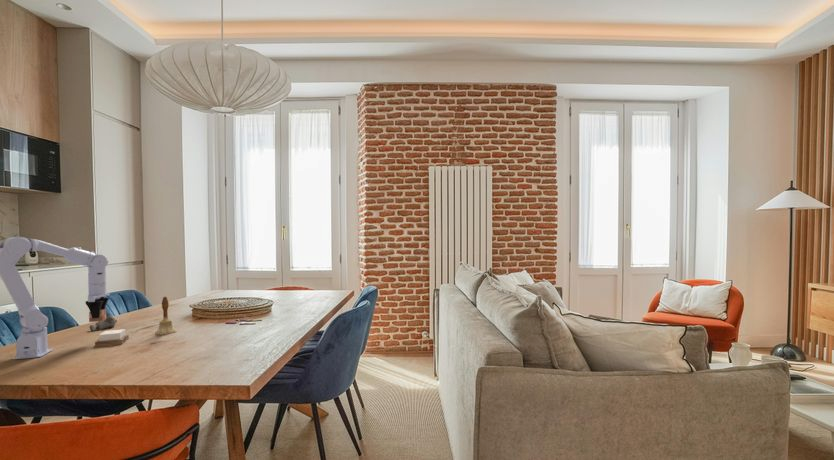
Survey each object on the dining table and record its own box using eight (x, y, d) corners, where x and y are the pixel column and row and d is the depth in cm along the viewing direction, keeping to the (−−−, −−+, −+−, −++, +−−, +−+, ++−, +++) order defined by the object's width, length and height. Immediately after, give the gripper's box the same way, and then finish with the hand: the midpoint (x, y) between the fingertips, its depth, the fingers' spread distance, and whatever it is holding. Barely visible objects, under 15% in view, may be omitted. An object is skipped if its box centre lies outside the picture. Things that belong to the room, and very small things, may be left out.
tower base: (122, 346, 168) (122, 339, 168) (95, 348, 164) (94, 342, 164) (128, 340, 176) (128, 334, 176) (102, 342, 173) (102, 336, 173)
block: (102, 321, 170) (102, 311, 170) (89, 322, 168) (89, 312, 168) (106, 318, 174) (106, 309, 174) (93, 319, 172) (93, 310, 172)
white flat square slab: (119, 339, 168) (119, 333, 168) (99, 341, 166) (98, 334, 166) (125, 335, 175) (125, 329, 175) (105, 336, 173) (105, 330, 173)
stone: (90, 334, 189) (105, 321, 190) (84, 324, 190) (99, 312, 192) (107, 334, 199) (121, 322, 200) (101, 325, 200) (115, 314, 201)
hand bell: (174, 333, 184) (174, 297, 184) (152, 335, 181) (152, 298, 181) (177, 329, 192) (177, 294, 192) (156, 331, 189) (156, 296, 189)
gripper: (103, 285, 166) (103, 319, 166) (114, 281, 179) (115, 312, 179) (81, 286, 163) (81, 321, 163) (94, 282, 177) (95, 314, 177)
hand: (97, 316), depth 171 cm, fingers closed on block, 4 cm apart
